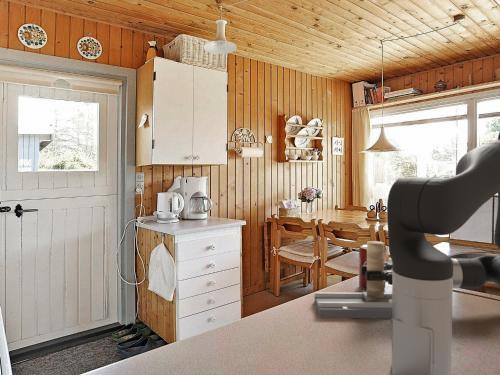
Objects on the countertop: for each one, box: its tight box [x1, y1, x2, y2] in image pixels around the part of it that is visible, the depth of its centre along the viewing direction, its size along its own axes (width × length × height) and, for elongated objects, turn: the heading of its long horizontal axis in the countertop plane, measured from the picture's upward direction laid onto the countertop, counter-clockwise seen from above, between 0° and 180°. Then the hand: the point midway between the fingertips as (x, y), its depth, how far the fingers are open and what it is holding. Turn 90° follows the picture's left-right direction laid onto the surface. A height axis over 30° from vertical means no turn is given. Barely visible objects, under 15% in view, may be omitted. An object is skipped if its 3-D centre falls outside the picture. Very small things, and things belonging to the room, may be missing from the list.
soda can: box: [358, 244, 387, 292], centre depth 104 cm, size 7×7×12 cm
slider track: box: [314, 291, 392, 320], centre depth 89 cm, size 24×10×3 cm, turn 86°
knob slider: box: [361, 240, 389, 302], centre depth 88 cm, size 5×5×14 cm
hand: (364, 272), depth 88 cm, fingers closed on knob slider, 4 cm apart
